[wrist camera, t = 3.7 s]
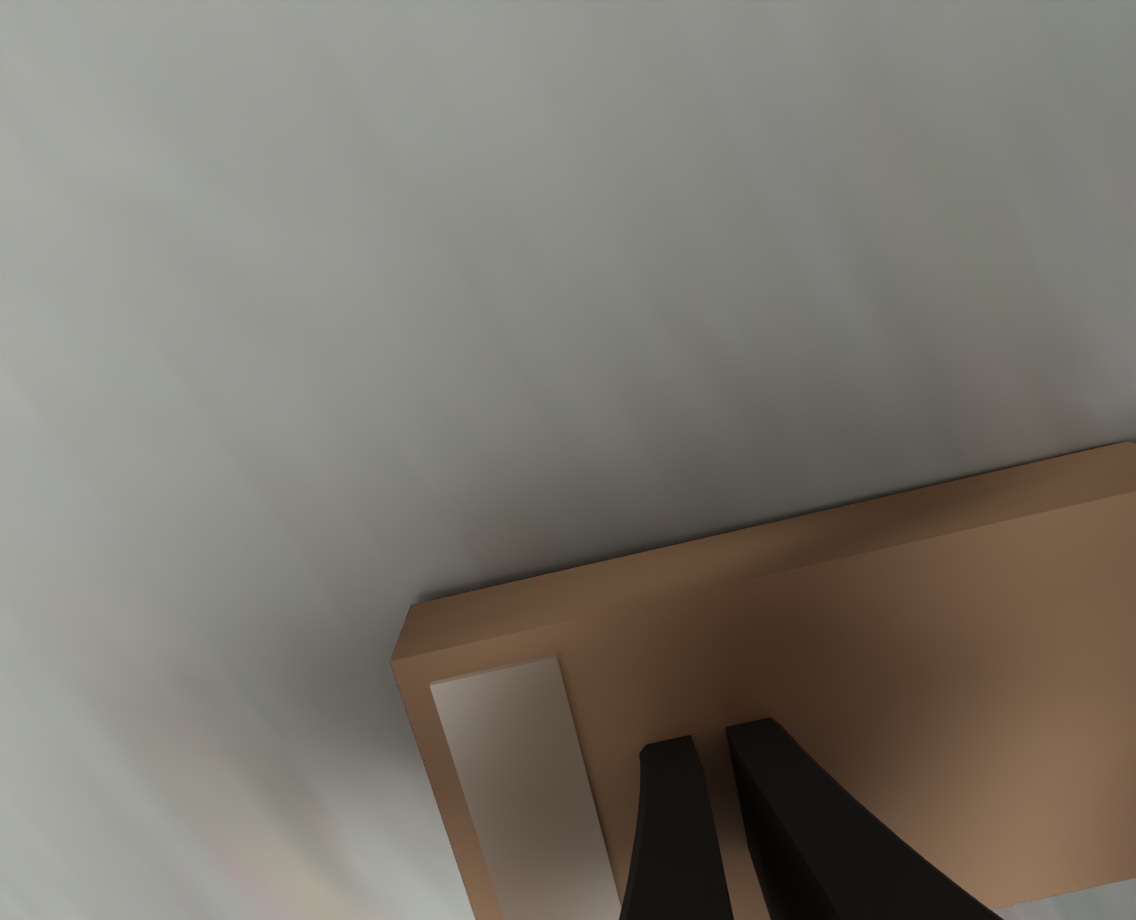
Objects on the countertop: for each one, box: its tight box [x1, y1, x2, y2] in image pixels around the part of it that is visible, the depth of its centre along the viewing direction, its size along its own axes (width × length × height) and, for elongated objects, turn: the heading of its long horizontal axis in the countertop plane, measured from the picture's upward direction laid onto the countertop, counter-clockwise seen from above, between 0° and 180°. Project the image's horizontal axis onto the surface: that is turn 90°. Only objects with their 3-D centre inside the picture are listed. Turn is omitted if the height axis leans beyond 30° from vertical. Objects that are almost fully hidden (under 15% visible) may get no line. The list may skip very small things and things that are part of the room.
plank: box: [390, 441, 1136, 920], centre depth 10 cm, size 12×6×2 cm, turn 103°
